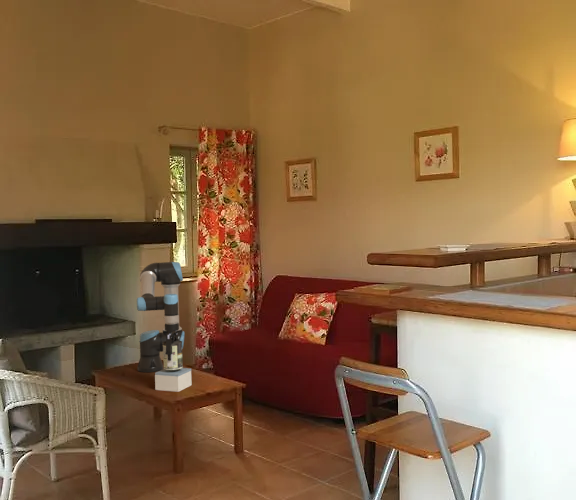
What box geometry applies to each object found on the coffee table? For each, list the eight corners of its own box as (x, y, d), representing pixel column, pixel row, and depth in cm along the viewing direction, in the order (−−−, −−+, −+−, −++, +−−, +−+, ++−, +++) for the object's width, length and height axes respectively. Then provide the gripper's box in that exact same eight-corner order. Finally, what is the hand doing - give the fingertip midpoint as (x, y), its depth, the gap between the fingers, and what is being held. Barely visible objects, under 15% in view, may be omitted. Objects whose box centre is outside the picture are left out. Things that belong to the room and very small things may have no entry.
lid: (169, 368, 358) (169, 367, 358) (191, 370, 353) (191, 368, 353) (155, 374, 345) (155, 372, 345) (178, 376, 340) (178, 374, 340)
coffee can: (177, 364, 356) (176, 339, 355) (186, 368, 347) (185, 342, 347) (160, 367, 350) (159, 341, 349) (168, 371, 341) (167, 344, 341)
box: (169, 383, 358) (168, 369, 358) (191, 385, 353) (191, 370, 353) (155, 389, 345) (154, 374, 345) (178, 391, 340) (177, 376, 340)
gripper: (170, 319, 359) (172, 359, 360) (158, 326, 337) (159, 369, 338) (184, 319, 358) (185, 359, 359) (172, 326, 336) (173, 369, 337)
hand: (173, 364), depth 349 cm, fingers closed on coffee can, 10 cm apart
